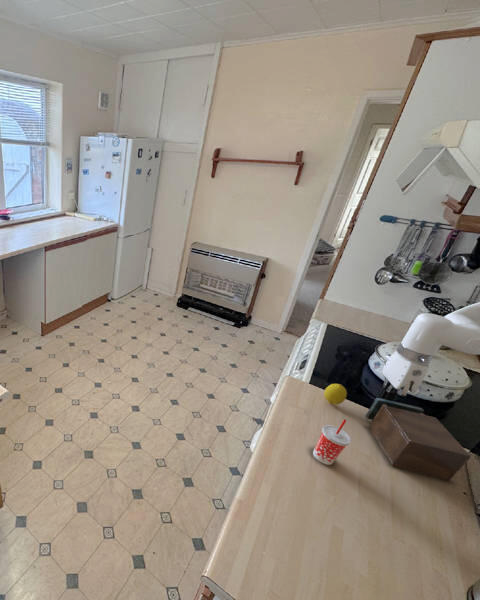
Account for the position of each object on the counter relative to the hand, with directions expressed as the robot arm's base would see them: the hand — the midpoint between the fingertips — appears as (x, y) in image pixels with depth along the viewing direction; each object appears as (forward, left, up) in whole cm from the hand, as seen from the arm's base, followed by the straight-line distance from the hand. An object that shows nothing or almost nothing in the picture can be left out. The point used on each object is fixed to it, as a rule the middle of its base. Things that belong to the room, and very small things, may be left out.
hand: (384, 399), depth 103 cm
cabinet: (0, +17, -5) cm, 18 cm away
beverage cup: (+24, +28, -5) cm, 37 cm away
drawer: (0, +10, -4) cm, 10 cm away
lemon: (+14, +2, -5) cm, 15 cm away
